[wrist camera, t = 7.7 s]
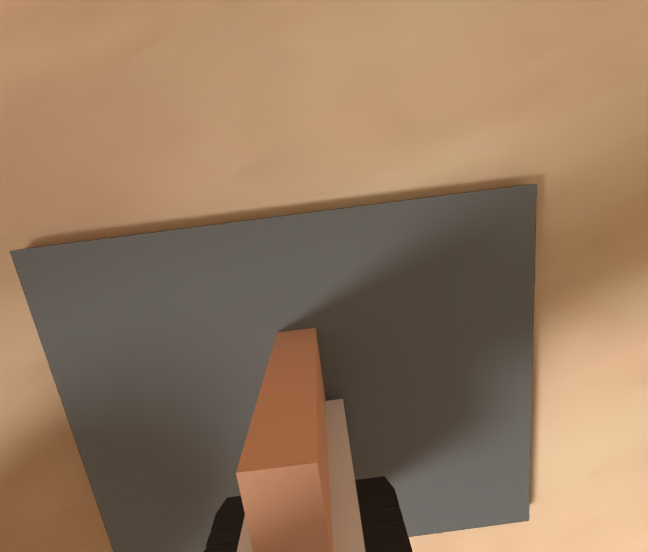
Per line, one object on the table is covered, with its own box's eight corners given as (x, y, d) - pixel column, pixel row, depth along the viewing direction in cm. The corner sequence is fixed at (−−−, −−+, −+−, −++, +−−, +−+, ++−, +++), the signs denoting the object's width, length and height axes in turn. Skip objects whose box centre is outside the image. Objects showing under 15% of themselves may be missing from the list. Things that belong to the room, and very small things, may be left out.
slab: (305, 509, 15) (298, 764, 8) (277, 332, 13) (236, 472, 6) (339, 505, 15) (360, 755, 8) (315, 327, 13) (317, 462, 6)
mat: (128, 562, 16) (122, 575, 16) (24, 249, 13) (9, 251, 12) (521, 509, 16) (529, 520, 16) (526, 184, 13) (536, 183, 12)
